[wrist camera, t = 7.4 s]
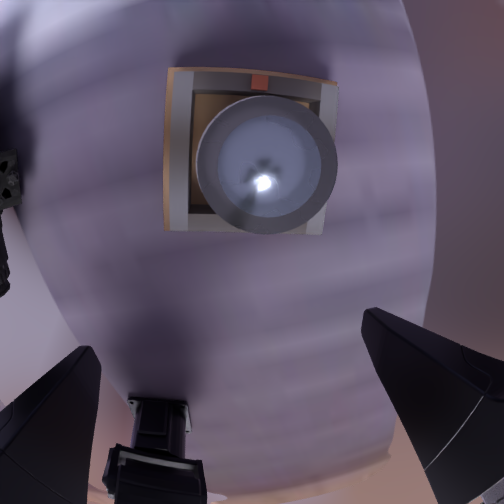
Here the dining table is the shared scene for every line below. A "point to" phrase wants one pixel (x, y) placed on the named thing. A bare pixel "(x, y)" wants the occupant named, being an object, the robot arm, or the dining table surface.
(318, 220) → the mount
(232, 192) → the lens
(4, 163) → the night vision scope
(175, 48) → the dining table surface
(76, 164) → the dining table surface
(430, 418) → the robot arm
